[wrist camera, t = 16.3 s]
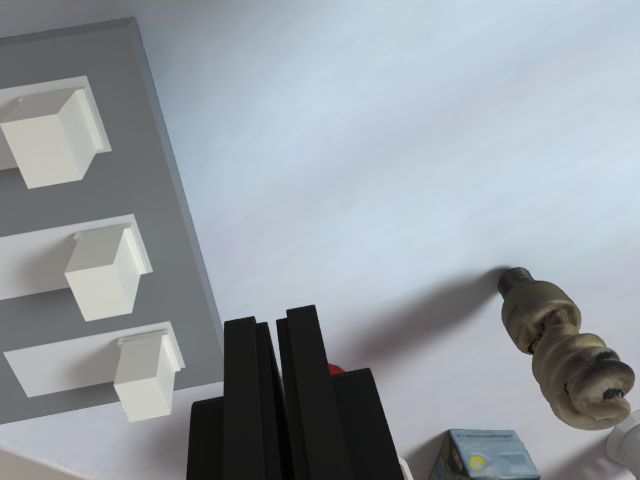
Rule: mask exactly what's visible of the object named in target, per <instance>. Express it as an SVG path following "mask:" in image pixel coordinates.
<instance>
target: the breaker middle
mask: <svg viewBox="0 0 640 480" xmlns="http://www.w3.org/2000/svg"><path fill="white" fill-rule="evenodd" d="M74 239H75V242H76V244H77V245H76V247H75V250H74V252H73V254H72V256H71V259H70V261H69V263H68V266H67V268H66V270H65V273H64V274H65V276H66V278H67V281H68V283H69V285H70V287H71V290H72V292H73V294H74V296H75V299H76V301H77V303H78V306H79V308H80V310H81V312H82V315H83V317H84V319H85V321H91V320H97V319H102V318H107V317H113V316H118V315H123V314H129V313H132V310H133V306H134V301H135V297H136V293H137V288H138V284H139V279H140V275H141V274H146V273H147V269H148V268H147V265H146V262H145V260H144V257H143V254H142V251H141V248H140V245H139V242H138V239H137V236H136V233H135V231H134V228H133V225H132V223H129V224H124V225H118V226H112V227H107V228H101V229H96V230H90V231H84V232H79V233H76V234H75V236H74Z"/></svg>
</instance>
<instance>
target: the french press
mask: <svg viewBox="0 0 640 480" xmlns="http://www.w3.org/2000/svg"><path fill="white" fill-rule="evenodd" d="M606 452H607V454H608V456H609V458H610V459H611V460H613V461H615V462H617V463H619V464H623V465H626V466H628V468H629V470H630V471H631V473H632V474H633V475H634V476H635V477H636V480H640V410H638V411H636V412H634V413H632V414H630V415H629V416H628V417H627V418H626V419H625V420H624V421H623V422H621V423H619V424H618V425H616V426H615V428H614V429H613V431H612V432H611V434H610V435H609V437H608V438H607V444H606Z"/></svg>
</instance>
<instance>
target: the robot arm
mask: <svg viewBox="0 0 640 480" xmlns="http://www.w3.org/2000/svg"><path fill="white" fill-rule="evenodd" d="M286 313H287V318H283V319H278V320H276V325H277V333H278V342H279V350H280V358H281V367H282V375H283V384H284V392H285V398H284V394H283V389H282V385H281V380H280V376H279V371H278V367H277V362H276V358H275V354H274V349H273V345H272V340H271V336H270V331H269V327H268V323H267V322H262V323H256V319H255V317H254V316H251V317H246V318H241V319H235V320H230V321H225V323H224V396H222V397H217V398H211V399H206V400H201V401H196V402H193V405H192V409H191V418H190V433H189V447H188V462H187V476H186V480H405V479H404V475H403V472H402V469H401V466H400V462H399V459H398V456H397V453H396V449H395V446H394V443H393V440H392V436H391V433H390V430H389V427H388V424H387V420H386V417H385V414H384V411H383V407H382V404H381V401H380V398H379V394H378V391H377V388H376V385H375V382H374V378H373V375H372V372H371V370H370V368H364V369H359V370H354V371H349V372H344V373H339V374H334V375H330V371H329V366H328V361H327V357H326V352H325V348H324V343H323V339H322V334H321V330H320V325H319V321H318V316H317V312H316V307H315V305H309V306H304V307H299V308H293V309H288V310H286ZM285 400H286V402H285Z"/></svg>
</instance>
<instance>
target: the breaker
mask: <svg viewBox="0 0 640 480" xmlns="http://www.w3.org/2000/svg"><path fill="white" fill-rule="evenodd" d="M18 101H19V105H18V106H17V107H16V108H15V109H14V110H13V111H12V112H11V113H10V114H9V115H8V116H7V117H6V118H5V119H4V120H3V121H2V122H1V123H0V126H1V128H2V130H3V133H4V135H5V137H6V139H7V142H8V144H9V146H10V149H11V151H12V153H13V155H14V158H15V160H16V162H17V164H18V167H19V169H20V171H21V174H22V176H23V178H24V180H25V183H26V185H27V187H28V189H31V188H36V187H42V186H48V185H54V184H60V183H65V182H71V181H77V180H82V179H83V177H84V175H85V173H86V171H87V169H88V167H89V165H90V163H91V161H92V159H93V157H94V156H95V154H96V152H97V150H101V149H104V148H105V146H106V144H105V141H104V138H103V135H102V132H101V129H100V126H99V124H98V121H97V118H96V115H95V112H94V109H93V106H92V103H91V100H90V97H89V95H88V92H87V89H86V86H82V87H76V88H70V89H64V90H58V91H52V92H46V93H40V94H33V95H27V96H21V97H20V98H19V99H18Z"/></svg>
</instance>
